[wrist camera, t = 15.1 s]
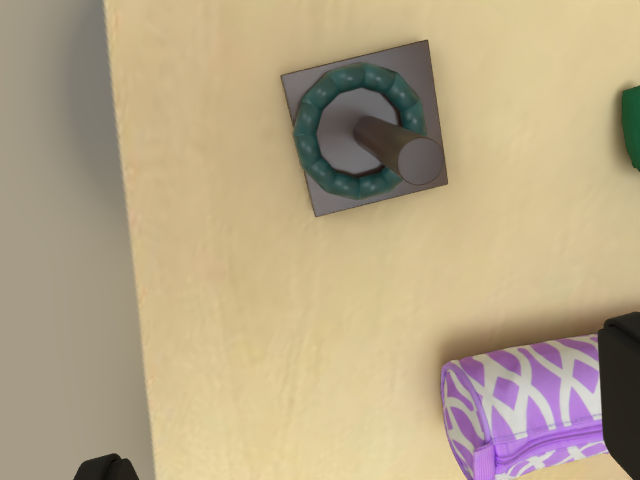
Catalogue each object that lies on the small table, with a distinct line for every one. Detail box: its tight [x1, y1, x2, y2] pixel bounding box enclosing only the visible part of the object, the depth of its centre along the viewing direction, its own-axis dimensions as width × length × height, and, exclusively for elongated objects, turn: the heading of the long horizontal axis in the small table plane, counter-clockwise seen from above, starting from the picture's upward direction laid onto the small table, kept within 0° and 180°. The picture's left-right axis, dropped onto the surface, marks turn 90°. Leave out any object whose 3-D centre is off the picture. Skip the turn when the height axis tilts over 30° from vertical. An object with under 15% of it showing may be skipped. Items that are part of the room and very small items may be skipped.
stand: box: [281, 40, 448, 217], centre depth 26 cm, size 9×9×12 cm
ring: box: [293, 62, 427, 200], centre depth 29 cm, size 8×8×1 cm
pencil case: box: [440, 333, 609, 480], centre depth 35 cm, size 22×9×9 cm, turn 99°
